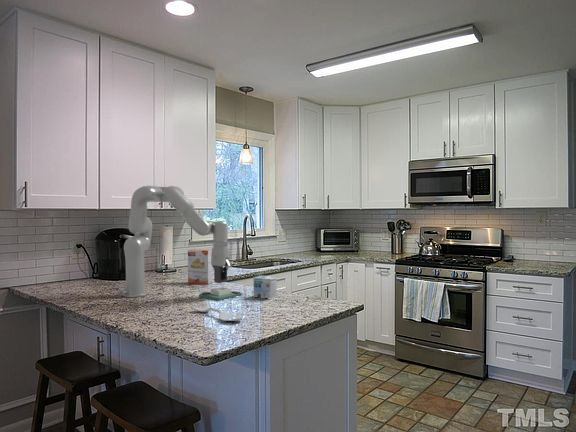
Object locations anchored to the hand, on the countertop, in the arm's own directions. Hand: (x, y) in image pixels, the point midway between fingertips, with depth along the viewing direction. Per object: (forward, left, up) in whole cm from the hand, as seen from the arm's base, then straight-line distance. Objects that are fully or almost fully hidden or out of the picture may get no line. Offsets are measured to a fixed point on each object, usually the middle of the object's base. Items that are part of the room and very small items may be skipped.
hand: (220, 278), depth 231 cm
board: (0, 0, -9) cm, 9 cm away
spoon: (-28, -29, -10) cm, 42 cm away
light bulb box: (+13, -20, -10) cm, 26 cm away
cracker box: (+17, +38, -10) cm, 43 cm away
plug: (0, 0, -2) cm, 2 cm away
